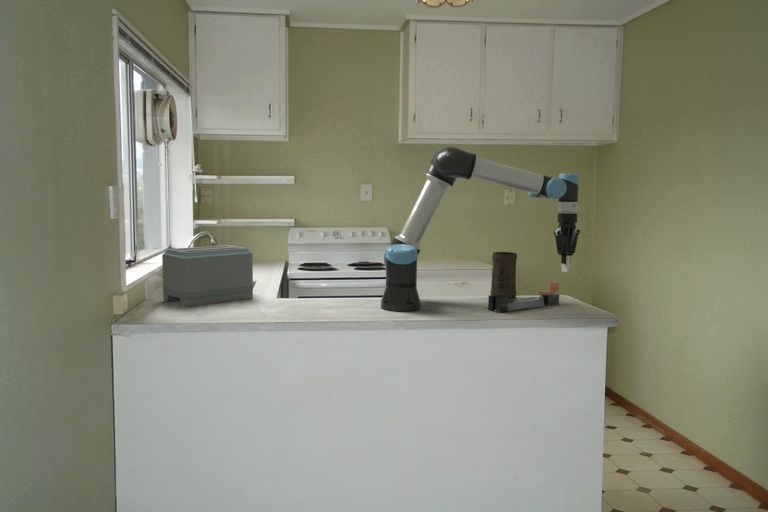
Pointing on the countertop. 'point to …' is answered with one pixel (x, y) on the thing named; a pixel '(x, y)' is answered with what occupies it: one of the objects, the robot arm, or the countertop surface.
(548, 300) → the tongs base
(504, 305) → the tong arm
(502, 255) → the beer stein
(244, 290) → the toaster
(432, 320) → the countertop surface
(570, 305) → the countertop surface
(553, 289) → the lock tab
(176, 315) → the countertop surface
